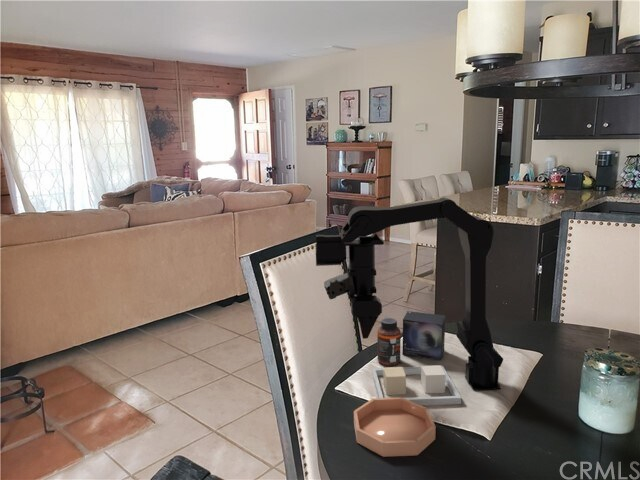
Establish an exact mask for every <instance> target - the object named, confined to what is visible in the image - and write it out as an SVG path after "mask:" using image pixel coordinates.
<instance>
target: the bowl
mask: <svg viewBox="0 0 640 480" xmlns="http://www.w3.org/2000/svg"><path fill="white" fill-rule="evenodd" d="M405 398H406V397H383V398H378V397H377V398H371V399H370V400H368V401H367V402H365V403H363V404H362V405H361V406H359V407H357V408H356V409H355V410H353V427H354V431H355V439H356V443H358V445H359V444H360V446H363V447H364V448H367V449H368V450H370V451H372V452H373V453H376V454H378V455H379V456H382V457H383V458H385V457H409V456H418V455H419V454H421V453H422V452H423V451H424V450H425V449H427V447H429V446H430V445H431V444H432V443H433V442H434V441H435V440H436V428H437V427H436V424H435V422H434V419H433V417H432V415H431V413H430V410H429V408H428V407H427V406H426V407H425V405H422V406H421V405H419V404H416V403H414V402H412V401H409V400H407V399H405Z"/></svg>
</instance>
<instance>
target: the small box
mask: <svg viewBox="0 0 640 480" xmlns="http://www.w3.org/2000/svg"><path fill="white" fill-rule="evenodd" d="M445 333H446V315H444V314H435V313H426V312H418V311H410V310H409V311H406V313H405V315H404V316H403V318H402V355H405V356H409V357H410V356H411V357H418V358H424V359H430V360H436V361H442V359H443V357H444V353H445V351H446V350H445V341H446V339H445V336H446V335H445Z"/></svg>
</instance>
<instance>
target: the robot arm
mask: <svg viewBox="0 0 640 480" xmlns="http://www.w3.org/2000/svg"><path fill="white" fill-rule="evenodd" d="M439 219H446V220H447V221H448V222H449V223H450V224H452V225H454V226H455V227H456V228H457V231H458V237H459V242H460V244H461V248H462V251H463V254H464V260H465V263H464V265H465V267H464V270H465V271H464V273H465V276H464V277H465V287H464V288H465V315H464V317H463V319H462V321H459V320H457V321H456V326H457V333H456V335H455V336H456V338H457V339H458V340H459V342H460V344H461V345H462V347H464V349H465V350H466V352H467V353H468V354H469V356H468V357H467V362H465V373H464V379H465V380H466V382H467V384H468V385H469V386H470V387H471V389H472V390H473V391H488V390H489V391H491V390H501V388H502V386H501V384H499V373H500V371H499V370H500V367H502V364H503V361H504V357H502V356H501V354H500V353H499V352H498V351H497V350H496V349H495V347H494V342H493V337H492V333H491V330H490V327H489V324H488V321H487V259H488V257H489V254H490V251H491V249H492V246H493V241H494V235H495V230H494V226H493V224H491V223H490V222H489V221H488V220H487V219H483V218H481V217H479V216H477V215H472V214H470V213H469V212H468V211H466V210H465V209H464V208H462V207H461V206H459V205H458V204H457V203H456V202H455V201H454V200H452V199H450V198H448V197H441V198H438V199H432V200H427V201H421V202H414V203H407V204H401V205H394V206H386V207H385V206H384V207H383V206H373V205H372V206H371V205H369V206H367V205H359V206H355V207H353V208H352V209H351V210H350V211H349V213H348V215H347V220H346V221H347V222H346V223H345V225H344V226H343V227H342V229H341V230H340V232H339V233H338V234H329V235H325V234H316V235H315V265H316V267H321V266H322V267H323V266H328V267H329V266H342V264H343V263H345V261H347V247H348V267H346V269H347V270H346V273H342V274H339V275H337V276H333V277H332V278H329V279H327V280H325V281H324V282H323V287H324V289H325V291H326V294H327V297H328V299H329V300H335V299H336V298H337V297H339V296H341V295H344V294H347V296H348V297H349V298H350V299H351V300H350V311H351V314H352V316H353V317H355V318H357V321H358V323H359V327H360V332H361V337H362V339H364V340H365V339H368V338H369V336H370V334H371V332H372V330H373V327H374V326H375V324H376V322H377V320H378V318H379V316H381V314H383V304H382V301H381V299H380V298H379V297H378V296H377V295H373V294H377V287H376V276H377V269H376V257H375V256H376V247H375V246H381V245H384V244H385V241H384V240H383V238H381V237H380V236H379V235H378V233H379V232H381V231H383V230H386V229H388V228H391V227H394V226H398V225H405V224H406V225H407V224H411V223H413V224H414V223H419V222H424V221H430V220H431V221H432V220H439Z"/></svg>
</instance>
